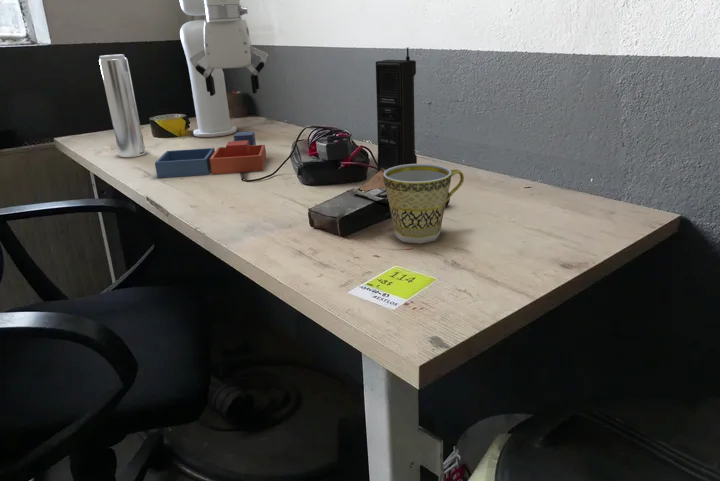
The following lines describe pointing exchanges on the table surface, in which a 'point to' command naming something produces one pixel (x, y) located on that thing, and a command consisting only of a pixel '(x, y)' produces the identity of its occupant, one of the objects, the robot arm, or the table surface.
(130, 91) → the shiny metal cylinder
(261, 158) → the red bin
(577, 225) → the table surface
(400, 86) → the portable radio
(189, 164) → the blue bin
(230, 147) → the red block
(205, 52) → the robot arm
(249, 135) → the blue block
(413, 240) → the ceramic cup
